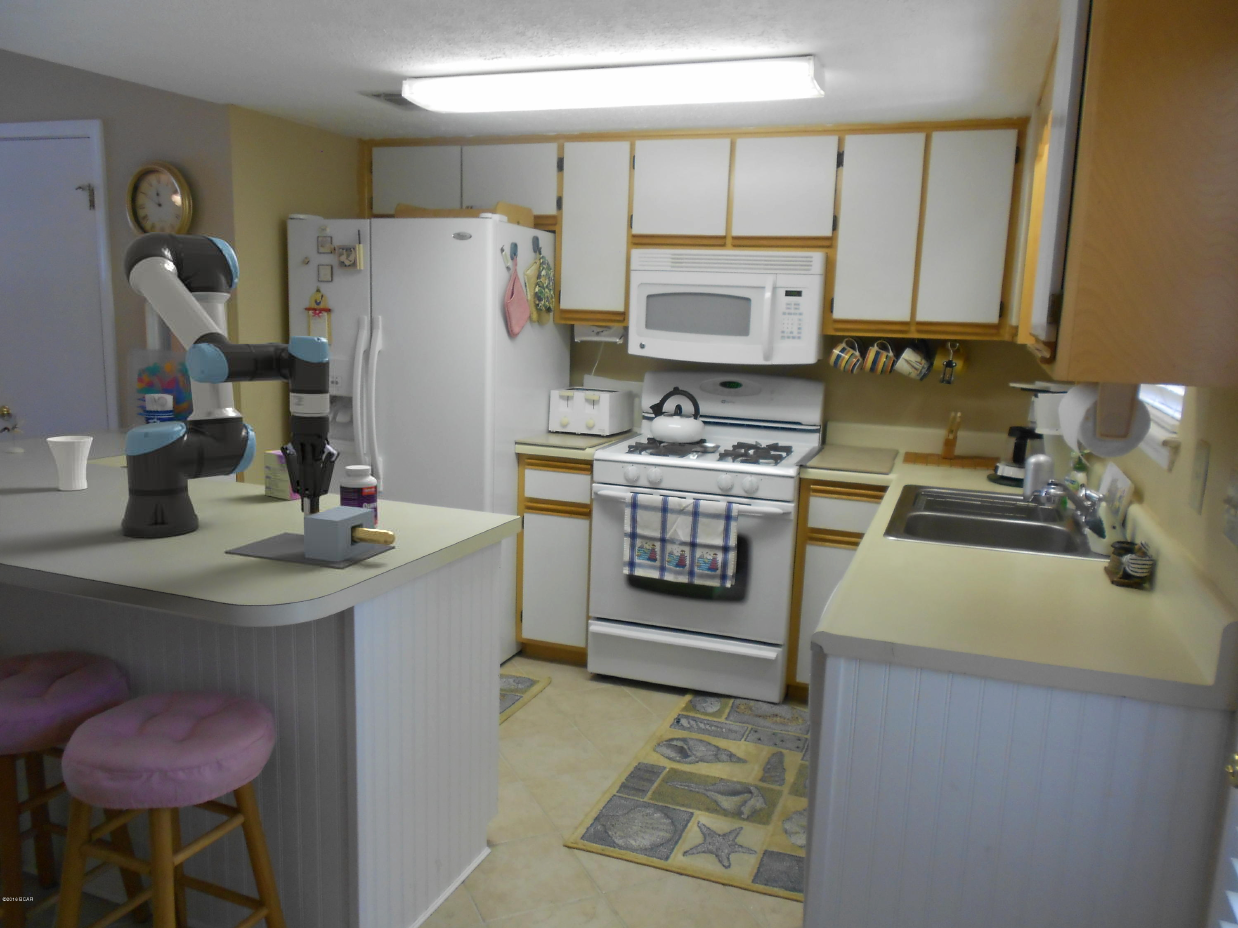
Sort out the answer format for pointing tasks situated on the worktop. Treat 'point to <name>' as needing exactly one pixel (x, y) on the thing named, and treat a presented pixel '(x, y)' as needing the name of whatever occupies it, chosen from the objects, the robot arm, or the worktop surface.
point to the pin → (371, 535)
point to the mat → (298, 551)
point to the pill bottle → (359, 489)
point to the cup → (71, 460)
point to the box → (277, 476)
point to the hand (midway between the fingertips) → (310, 528)
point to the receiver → (336, 533)
